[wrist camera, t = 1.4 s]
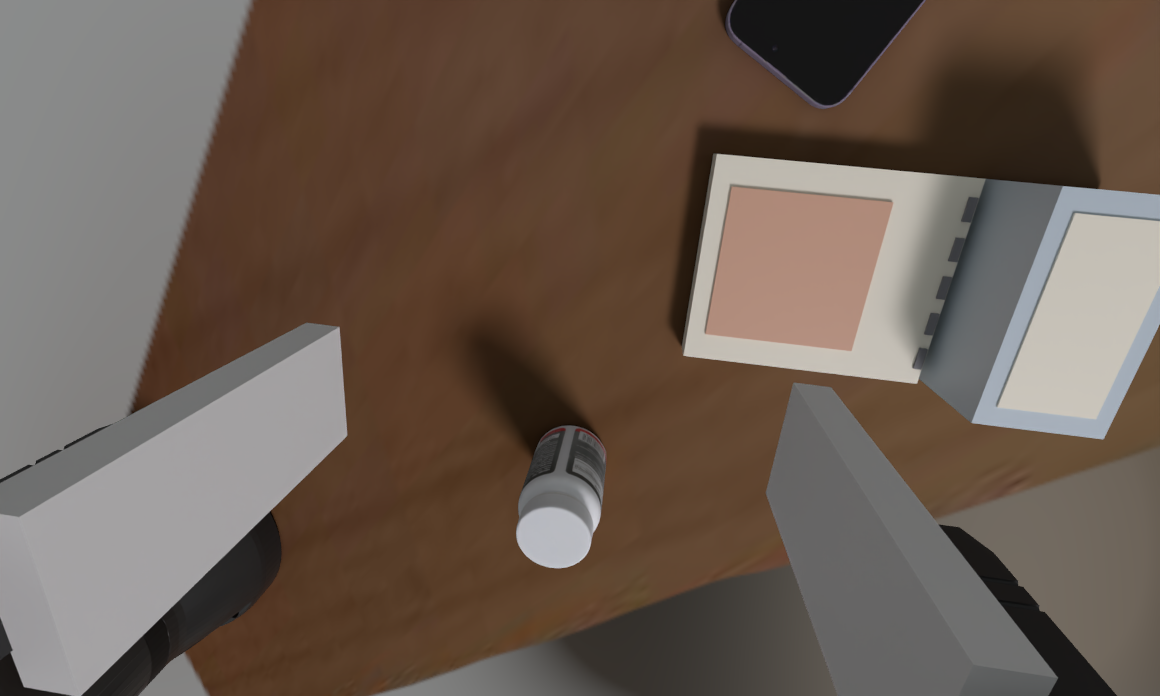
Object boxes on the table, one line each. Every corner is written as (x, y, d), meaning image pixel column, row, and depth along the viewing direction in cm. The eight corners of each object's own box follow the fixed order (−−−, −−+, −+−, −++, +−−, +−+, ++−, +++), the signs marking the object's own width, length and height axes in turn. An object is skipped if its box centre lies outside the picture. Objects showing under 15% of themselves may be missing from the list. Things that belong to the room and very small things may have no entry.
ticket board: (681, 346, 33) (683, 356, 31) (713, 153, 29) (717, 153, 27) (904, 373, 32) (917, 384, 30) (968, 177, 28) (987, 179, 26)
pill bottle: (537, 483, 37) (509, 572, 30) (535, 421, 36) (504, 498, 28) (606, 487, 37) (597, 578, 29) (607, 425, 35) (597, 504, 27)
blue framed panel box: (916, 376, 32) (972, 423, 26) (982, 178, 28) (1064, 186, 22) (1024, 389, 31) (1105, 440, 26) (1107, 190, 27) (1223, 200, 22)
